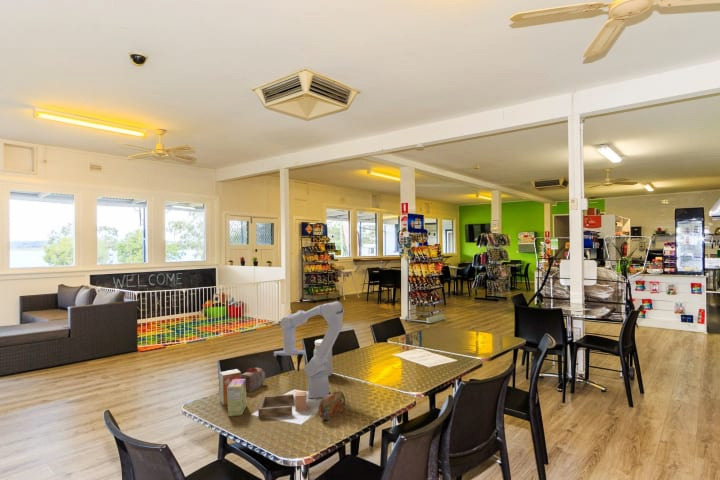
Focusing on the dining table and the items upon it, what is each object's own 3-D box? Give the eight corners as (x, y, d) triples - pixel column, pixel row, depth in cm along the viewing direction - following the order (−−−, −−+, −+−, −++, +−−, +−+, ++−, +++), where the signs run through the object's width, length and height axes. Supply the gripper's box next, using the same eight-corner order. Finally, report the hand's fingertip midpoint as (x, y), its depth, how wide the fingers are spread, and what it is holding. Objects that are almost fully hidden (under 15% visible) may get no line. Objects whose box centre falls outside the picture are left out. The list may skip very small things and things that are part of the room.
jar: (325, 370, 224) (324, 337, 224) (336, 374, 217) (335, 340, 217) (310, 375, 218) (309, 340, 218) (321, 379, 210) (320, 343, 211)
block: (306, 405, 176) (306, 391, 176) (306, 409, 171) (306, 395, 171) (296, 406, 175) (295, 392, 175) (295, 410, 171) (295, 396, 171)
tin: (324, 423, 158) (323, 401, 158) (317, 421, 159) (316, 399, 159) (346, 409, 170) (345, 389, 171) (339, 408, 172) (339, 387, 172)
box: (233, 406, 177) (232, 379, 177) (246, 405, 178) (246, 378, 178) (227, 416, 167) (226, 387, 167) (241, 415, 167) (241, 386, 168)
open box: (293, 402, 180) (293, 394, 180) (292, 415, 166) (291, 406, 166) (262, 404, 179) (262, 396, 179) (258, 418, 164) (258, 409, 164)
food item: (252, 383, 208) (251, 363, 208) (266, 384, 206) (266, 364, 206) (237, 392, 195) (236, 371, 195) (252, 393, 193) (251, 372, 193)
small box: (223, 405, 179) (222, 375, 179) (219, 401, 184) (218, 371, 184) (242, 401, 183) (241, 371, 183) (237, 397, 189) (236, 368, 189)
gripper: (272, 344, 191) (273, 374, 190) (304, 343, 191) (304, 372, 191) (274, 341, 198) (275, 369, 197) (305, 339, 198) (306, 368, 198)
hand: (290, 370), depth 195 cm, fingers open, 7 cm apart
